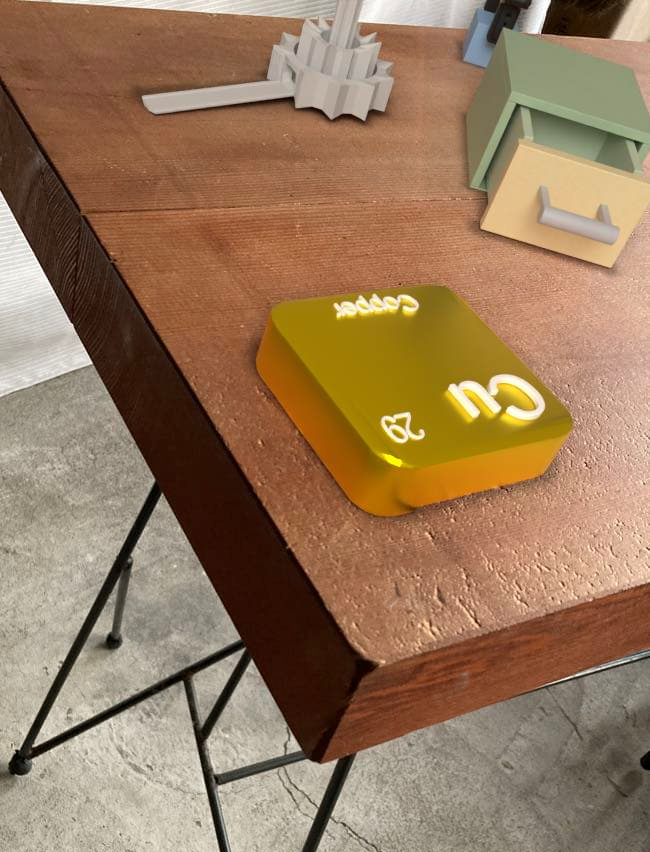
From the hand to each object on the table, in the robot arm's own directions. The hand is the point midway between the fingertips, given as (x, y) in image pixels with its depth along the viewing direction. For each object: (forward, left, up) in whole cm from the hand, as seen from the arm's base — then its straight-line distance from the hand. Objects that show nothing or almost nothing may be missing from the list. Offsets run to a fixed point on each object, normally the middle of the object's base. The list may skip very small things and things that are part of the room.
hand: (493, 28), depth 104 cm
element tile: (+7, +65, -4) cm, 65 cm away
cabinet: (-4, +24, -4) cm, 25 cm away
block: (0, 0, -4) cm, 4 cm away
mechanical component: (+20, +26, -4) cm, 33 cm away
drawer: (-4, +35, -3) cm, 35 cm away
